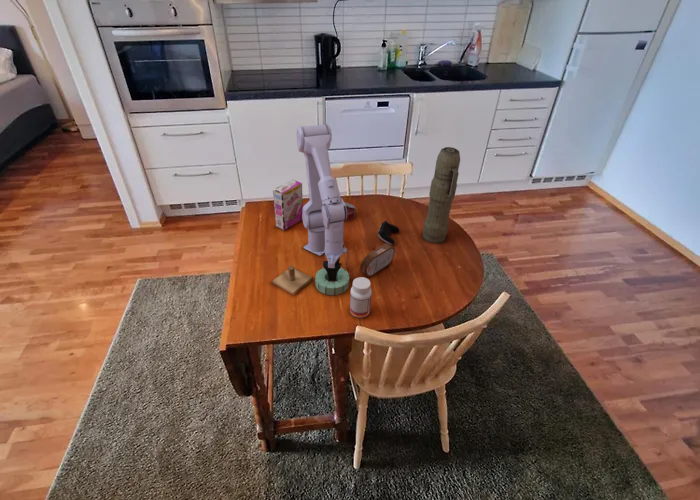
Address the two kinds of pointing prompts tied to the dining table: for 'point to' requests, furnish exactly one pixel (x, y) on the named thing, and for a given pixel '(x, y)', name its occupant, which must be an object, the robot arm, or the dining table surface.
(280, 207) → the candy bar box
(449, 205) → the thermos
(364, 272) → the tin
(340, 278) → the ring
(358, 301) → the pill bottle
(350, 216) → the canned food
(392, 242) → the gaming controller
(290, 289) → the peg stand
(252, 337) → the dining table surface
